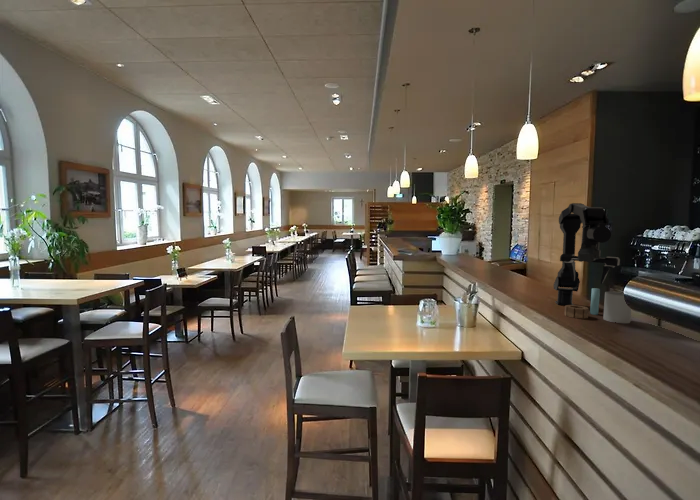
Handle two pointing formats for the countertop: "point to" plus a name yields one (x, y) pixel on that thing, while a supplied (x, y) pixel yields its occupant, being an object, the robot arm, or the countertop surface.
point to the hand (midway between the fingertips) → (587, 282)
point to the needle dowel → (594, 301)
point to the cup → (616, 308)
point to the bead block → (576, 311)
